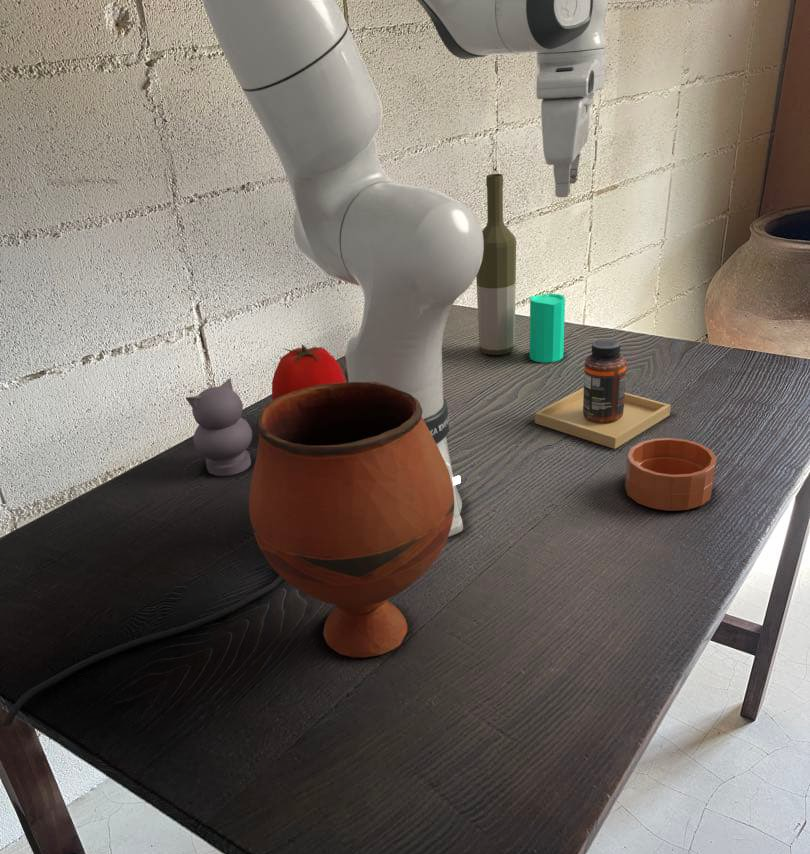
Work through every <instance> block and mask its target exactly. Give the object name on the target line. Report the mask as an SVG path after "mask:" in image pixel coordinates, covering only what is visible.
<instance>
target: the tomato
mask: <svg viewBox="0 0 810 854" xmlns="http://www.w3.org/2000/svg"><path fill="white" fill-rule="evenodd" d="M324 347H326V346H325V345H324V346H320V347H317V346H312V347H309V348H307V347H306V346H305V345H304V344H303V343H301V347H296V348H293V349H292V350H291V349H288V348H284V350H285V351H287V353H285V354H284V355H283V356H282V357H281V358H280V360H279V362H278V363H277V366H276V368H275V371H274V373H273V377H272V381H271V401H272V400H274V399H275V398H278V397H280V396H283V395H285V394H288V393H290V392H293V391H297V390H301V389H304V388H308V387H312V386H315V385H321V384H329V383H345V382H346V376H345V374H344V372H343V369H342V367H341V366H340V364H339V363H338V361H337V359H336V358H335V357H334V356H333V355H332V354H330V352H329V351H328V350H327V349H326V348H324Z"/></svg>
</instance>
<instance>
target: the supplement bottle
mask: <svg viewBox="0 0 810 854" xmlns="http://www.w3.org/2000/svg"><path fill="white" fill-rule="evenodd" d="M626 376H627V360H626V358H625V356H623V355H622V354H621V341H619V340H617V339H615V338H600V339H596V340H594V341H593V342H592V344H591V354H590V355H589V356H587V357H586V359H585V361H584V370H583V388H584V398H583V414H584V416H585V418H587V419H588V420H590V421H594V422H599V423H607V422H612V421H616V420H618V419H620V418H621V417H622V416H623V411H624V397H625V393H626V380H627V379H626V378H627V377H626Z"/></svg>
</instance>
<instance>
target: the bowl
mask: <svg viewBox="0 0 810 854" xmlns="http://www.w3.org/2000/svg"><path fill="white" fill-rule="evenodd" d="M717 460H718V458H717V456H716V455H715V453H714V452H713V450H712V449H710V448H709V447H707V446H705V445H704V444H702V443H700V442H696V441H692V440H689V439H683V438H674V437H661V438H659V437H658V438H652V439H647V440H643V441H640V442H638V443H636V444H635V445H633V446H632V447H630V449H629V451H628V453H627V456H626V465H625V466H626V467H625V479H624V480H625V482H624V489H625V491H626V494H627V496H628V497H629V498H630V499H632V500H633V501H635V503H637V504H639V505H642V506H645V507H647V508H650V509H655V510H659V511H668V512H669V511H670V512H674V511H675V512H679V511H688V510H692V509H696V508H699V507H701V506H704V505H705V504H706V503H707V502H709V501H710V500H711V497H712V493H713V488H714V481H715V473H716V468H717Z"/></svg>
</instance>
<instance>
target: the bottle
mask: <svg viewBox="0 0 810 854" xmlns="http://www.w3.org/2000/svg"><path fill="white" fill-rule="evenodd" d="M485 184H486V209H487V211H486V212H487V213H486V214H487V222H486V225H485V226H484V228H483V229H482V233H483V241H484V250H483V258H482V262H481V266H480V269H479V271H478V273H477V275H476V277H475V280H476V300H477V323H478V324H477V325H478V326H477V327H478V346H479V350H480V352H482V353H483V354H486V355H490V356H501V355H502V356H503V355H506V354H509V353H511V352H513V350H514V348H515V342H516V336H515V335H516V288H517V287H516V284H517V279H516V278H517V238H516V236H515V235H514V234H513V233H512V231H511V230H510V229H509V228H508V227H507V226H506V225H505V222H504V193H503V192H504V175H503V174H502V173H489V174H487V175H486V179H485Z"/></svg>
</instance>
